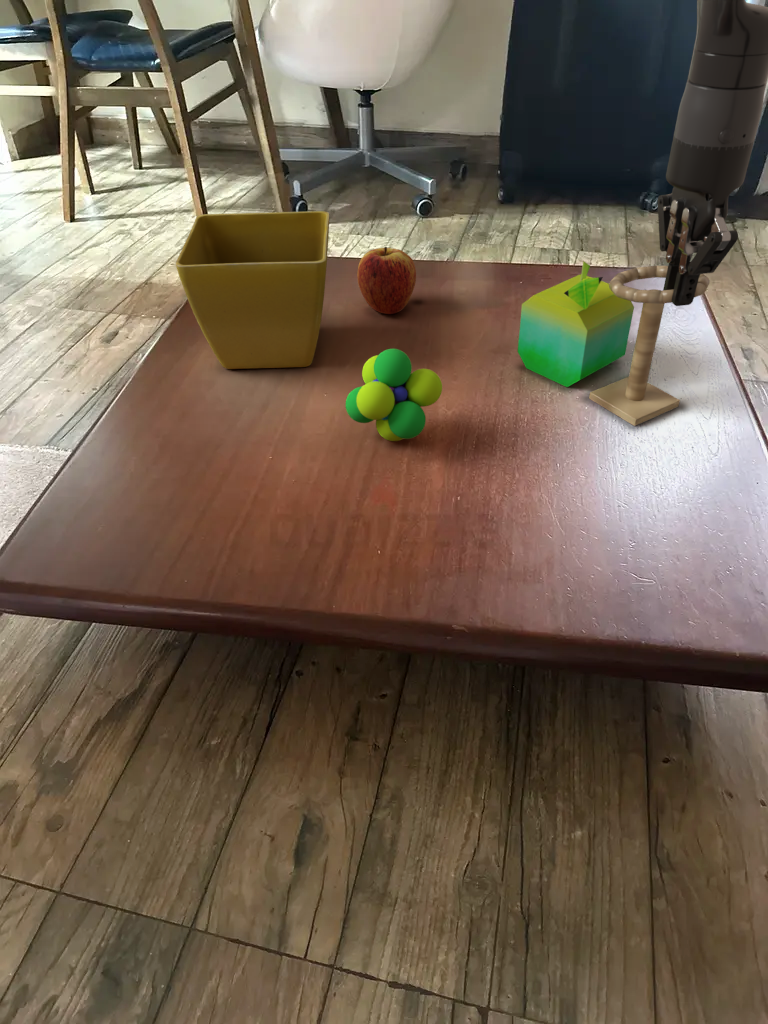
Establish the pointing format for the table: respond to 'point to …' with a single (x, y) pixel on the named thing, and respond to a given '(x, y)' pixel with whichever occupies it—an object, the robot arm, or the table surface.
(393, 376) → the molecule model
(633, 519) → the table surface
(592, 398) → the post
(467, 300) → the table surface
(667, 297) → the ring
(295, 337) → the flower pot
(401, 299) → the apple
